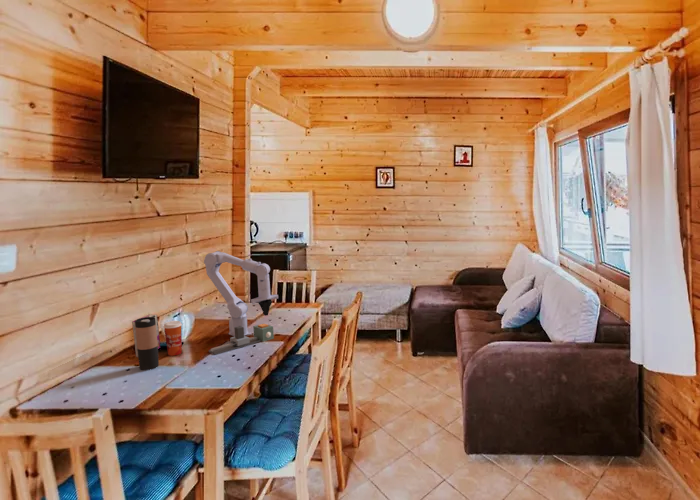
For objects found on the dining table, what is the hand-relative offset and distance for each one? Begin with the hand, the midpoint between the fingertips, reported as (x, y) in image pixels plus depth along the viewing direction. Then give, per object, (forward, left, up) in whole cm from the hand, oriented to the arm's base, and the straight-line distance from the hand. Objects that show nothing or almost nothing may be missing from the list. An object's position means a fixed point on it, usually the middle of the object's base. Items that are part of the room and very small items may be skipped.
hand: (265, 315), depth 215 cm
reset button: (+4, -5, -7) cm, 9 cm away
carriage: (+4, -18, -9) cm, 20 cm away
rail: (+4, -20, -10) cm, 23 cm away
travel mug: (-1, -57, -10) cm, 58 cm away
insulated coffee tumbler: (-19, -51, -10) cm, 55 cm away
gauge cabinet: (+4, -5, -10) cm, 12 cm away
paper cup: (-9, -43, -10) cm, 45 cm away
